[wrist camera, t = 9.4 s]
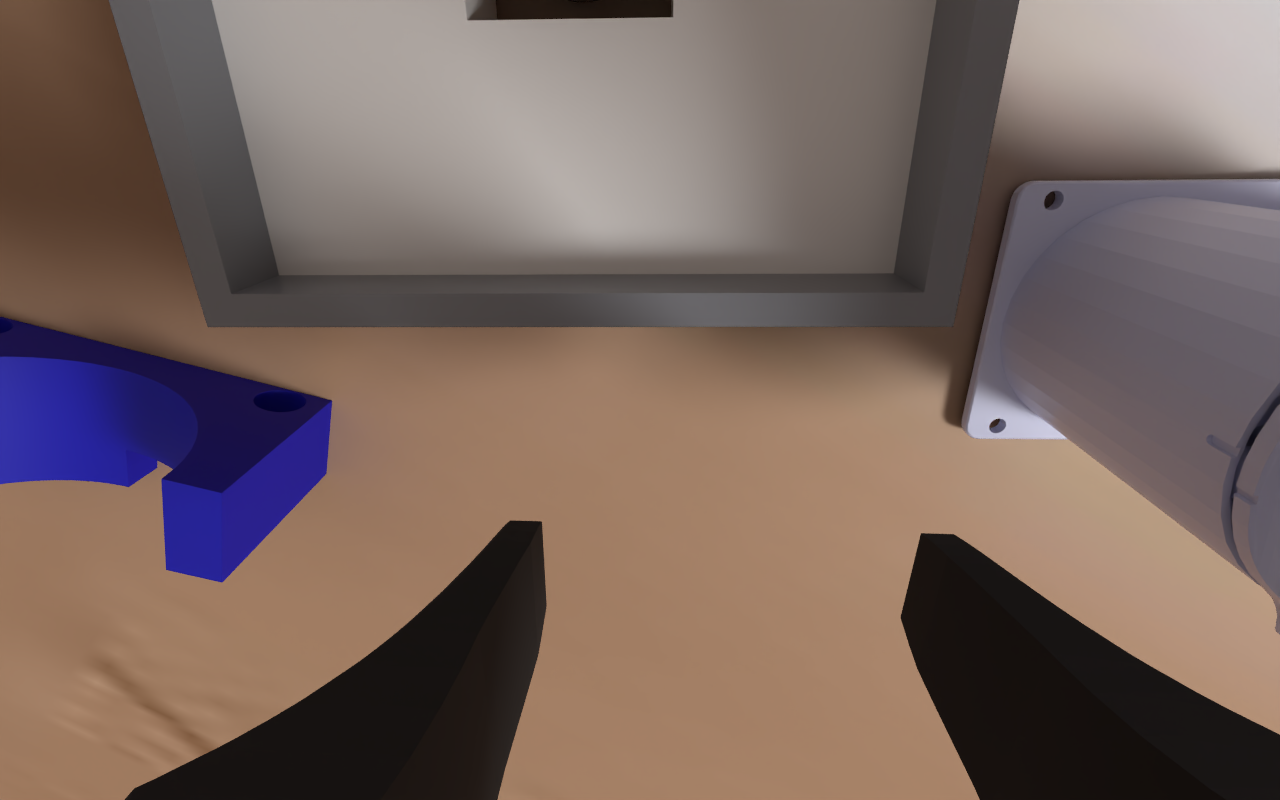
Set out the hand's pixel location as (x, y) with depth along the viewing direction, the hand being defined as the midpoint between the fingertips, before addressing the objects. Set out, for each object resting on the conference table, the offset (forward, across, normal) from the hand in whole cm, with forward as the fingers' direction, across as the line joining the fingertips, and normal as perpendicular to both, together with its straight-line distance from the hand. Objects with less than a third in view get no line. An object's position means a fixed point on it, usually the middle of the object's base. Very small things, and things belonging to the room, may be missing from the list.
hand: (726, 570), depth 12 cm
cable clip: (+10, +19, +2) cm, 21 cm away
